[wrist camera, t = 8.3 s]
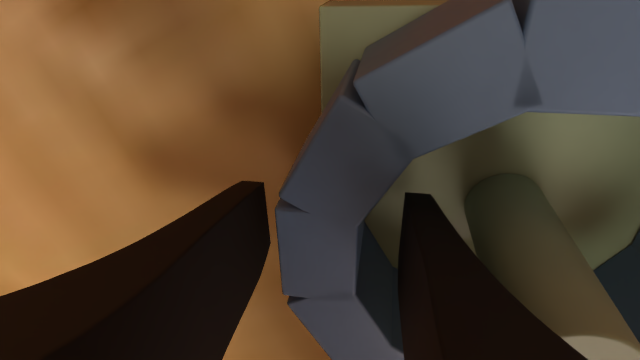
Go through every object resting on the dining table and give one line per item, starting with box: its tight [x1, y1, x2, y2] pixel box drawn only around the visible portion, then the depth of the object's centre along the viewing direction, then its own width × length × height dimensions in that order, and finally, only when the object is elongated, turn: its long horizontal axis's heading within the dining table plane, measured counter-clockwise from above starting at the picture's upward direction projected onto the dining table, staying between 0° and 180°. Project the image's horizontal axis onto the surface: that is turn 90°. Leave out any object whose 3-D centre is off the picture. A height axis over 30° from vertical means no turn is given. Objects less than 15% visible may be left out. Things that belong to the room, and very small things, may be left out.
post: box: [319, 0, 640, 360], centre depth 9 cm, size 10×10×6 cm
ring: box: [275, 0, 640, 360], centre depth 9 cm, size 11×11×3 cm
